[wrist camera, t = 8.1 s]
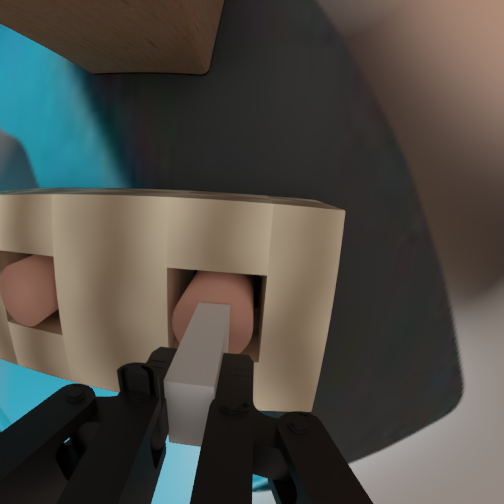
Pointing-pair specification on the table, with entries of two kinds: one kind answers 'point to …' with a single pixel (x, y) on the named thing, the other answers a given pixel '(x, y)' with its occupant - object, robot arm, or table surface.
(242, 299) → the peg
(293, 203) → the socket board
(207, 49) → the wooden block
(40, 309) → the peg
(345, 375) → the table surface
